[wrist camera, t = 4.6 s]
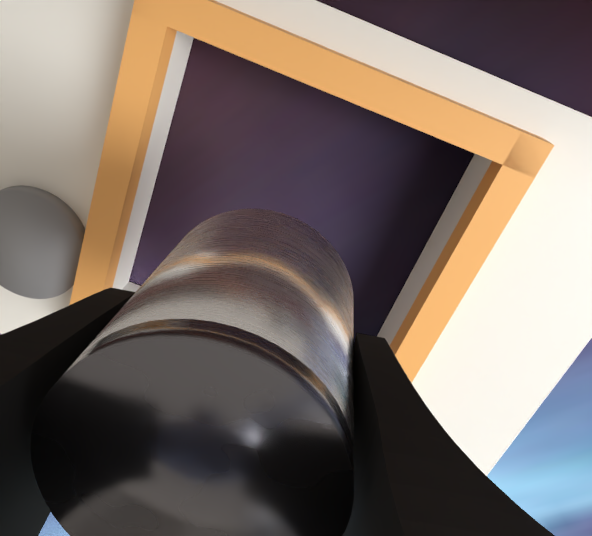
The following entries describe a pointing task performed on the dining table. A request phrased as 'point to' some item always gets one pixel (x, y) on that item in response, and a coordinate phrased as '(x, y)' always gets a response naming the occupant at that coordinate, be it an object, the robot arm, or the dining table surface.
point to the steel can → (212, 394)
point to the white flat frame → (344, 84)
